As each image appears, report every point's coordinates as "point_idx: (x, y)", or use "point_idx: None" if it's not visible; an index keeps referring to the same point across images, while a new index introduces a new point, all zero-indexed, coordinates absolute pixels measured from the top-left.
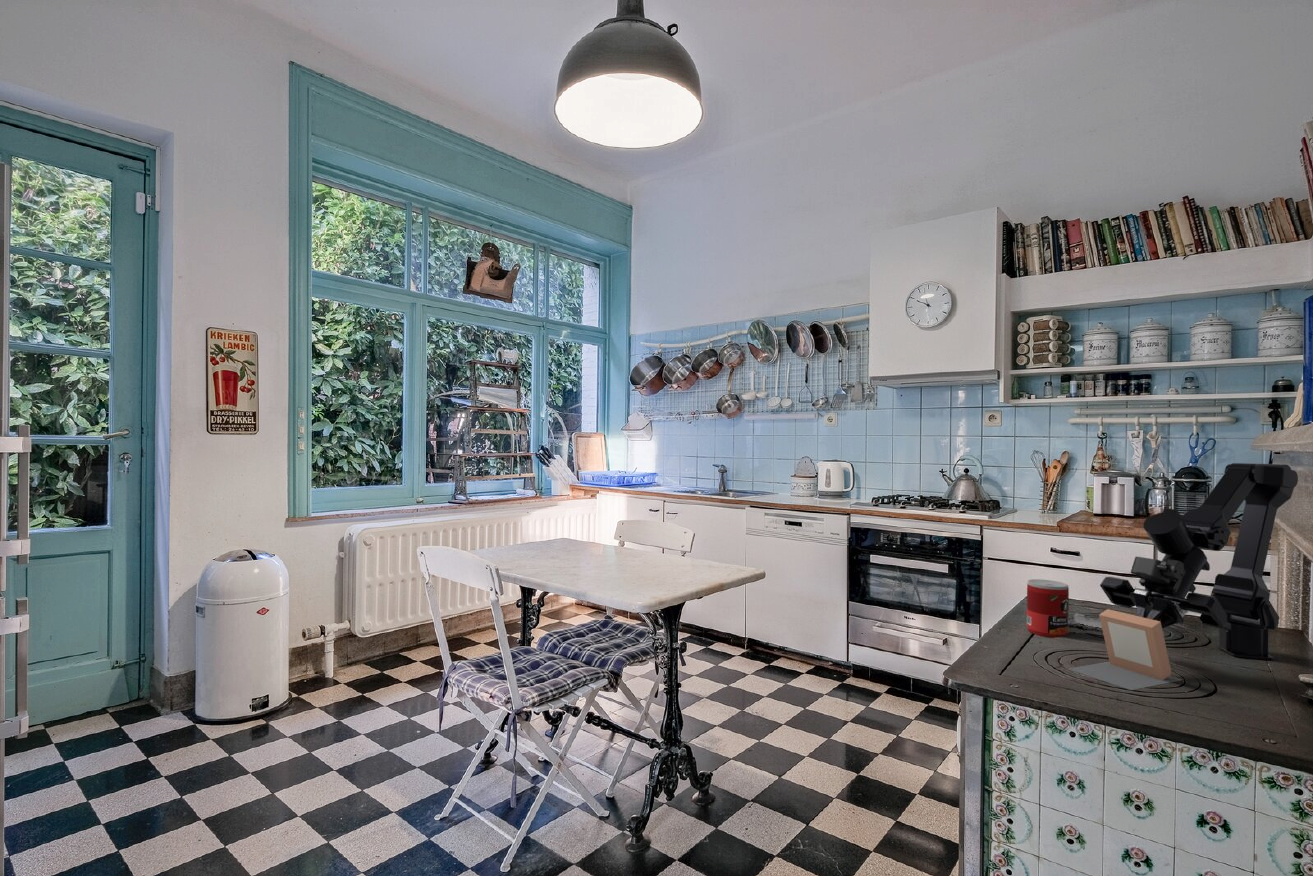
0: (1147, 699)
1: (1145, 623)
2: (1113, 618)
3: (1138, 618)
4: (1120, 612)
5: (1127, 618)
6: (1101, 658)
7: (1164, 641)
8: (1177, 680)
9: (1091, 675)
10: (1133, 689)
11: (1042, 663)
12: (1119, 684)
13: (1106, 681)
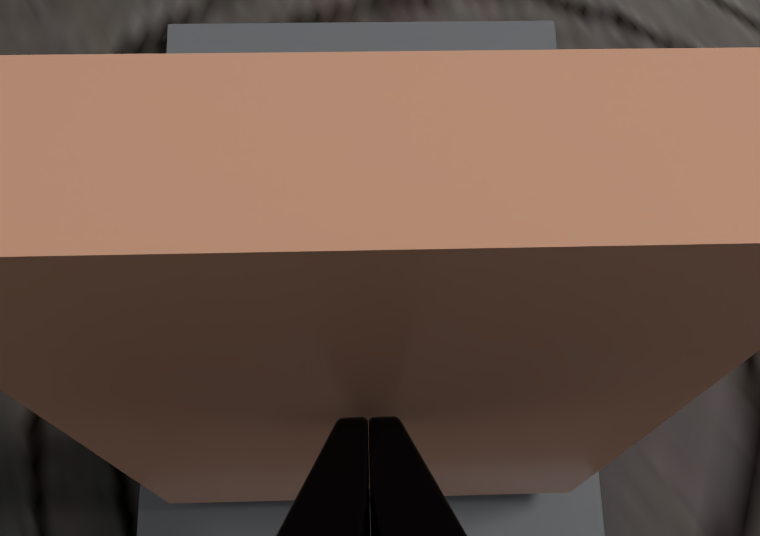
0: (83, 28)
1: (53, 113)
2: (544, 51)
3: (216, 185)
4: (622, 239)
5: (374, 120)
6: (711, 530)
7: (36, 410)
8: (141, 498)
9: (416, 40)
10: (169, 44)
11: (707, 28)
12: (252, 48)
13: (313, 25)
